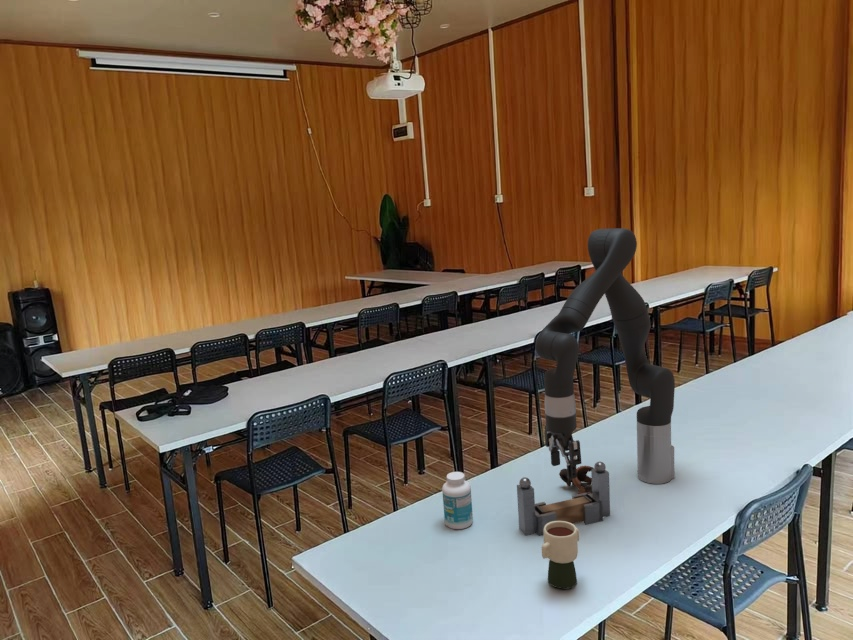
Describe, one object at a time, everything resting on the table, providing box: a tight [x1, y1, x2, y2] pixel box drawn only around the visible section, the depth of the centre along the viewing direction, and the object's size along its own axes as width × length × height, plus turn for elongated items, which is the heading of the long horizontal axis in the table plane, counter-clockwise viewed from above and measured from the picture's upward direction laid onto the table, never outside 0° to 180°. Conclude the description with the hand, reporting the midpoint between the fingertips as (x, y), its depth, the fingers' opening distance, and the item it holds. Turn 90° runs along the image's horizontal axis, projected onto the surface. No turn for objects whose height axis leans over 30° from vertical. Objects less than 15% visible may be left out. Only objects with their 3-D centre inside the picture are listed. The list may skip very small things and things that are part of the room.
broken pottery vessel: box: [558, 465, 594, 495], centre depth 185 cm, size 12×10×8 cm
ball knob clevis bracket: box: [516, 461, 611, 537], centre depth 167 cm, size 24×7×14 cm, turn 106°
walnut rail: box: [536, 495, 592, 525], centre depth 168 cm, size 14×3×5 cm, turn 107°
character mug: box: [540, 521, 580, 589], centre depth 142 cm, size 11×7×13 cm, turn 125°
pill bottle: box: [441, 471, 474, 530], centre depth 171 cm, size 8×7×14 cm
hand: (563, 471), depth 166 cm, fingers open, 8 cm apart
